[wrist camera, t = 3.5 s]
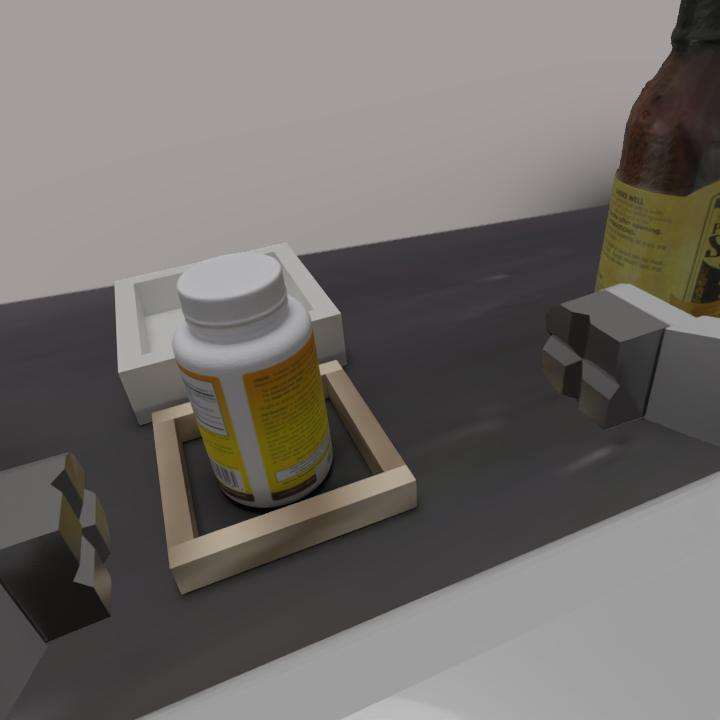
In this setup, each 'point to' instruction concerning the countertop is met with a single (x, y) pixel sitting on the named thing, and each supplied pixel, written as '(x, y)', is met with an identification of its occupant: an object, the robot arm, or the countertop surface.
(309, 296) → the tray
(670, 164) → the sauce bottle
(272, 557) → the wooden frame
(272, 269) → the supplement bottle
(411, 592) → the countertop surface
